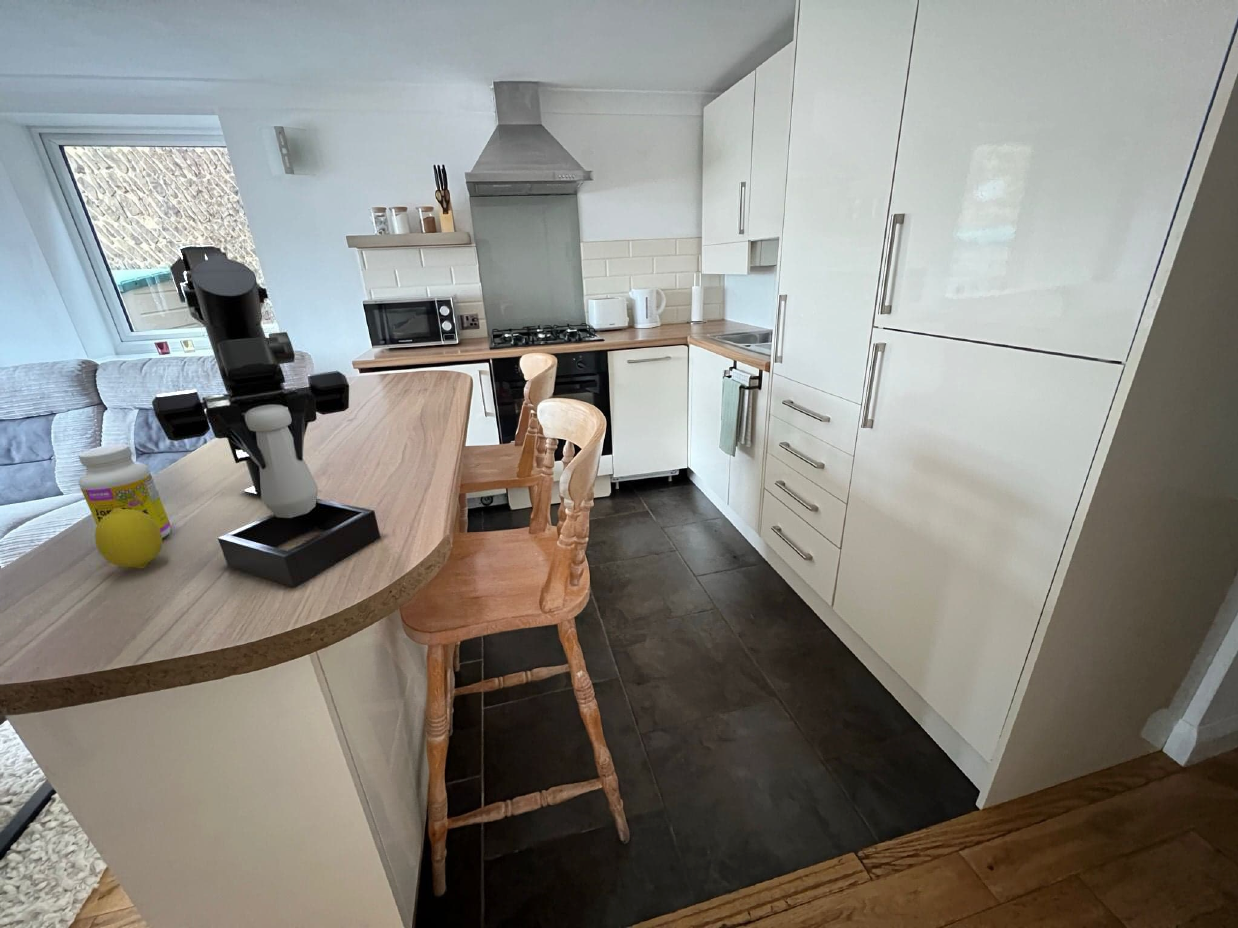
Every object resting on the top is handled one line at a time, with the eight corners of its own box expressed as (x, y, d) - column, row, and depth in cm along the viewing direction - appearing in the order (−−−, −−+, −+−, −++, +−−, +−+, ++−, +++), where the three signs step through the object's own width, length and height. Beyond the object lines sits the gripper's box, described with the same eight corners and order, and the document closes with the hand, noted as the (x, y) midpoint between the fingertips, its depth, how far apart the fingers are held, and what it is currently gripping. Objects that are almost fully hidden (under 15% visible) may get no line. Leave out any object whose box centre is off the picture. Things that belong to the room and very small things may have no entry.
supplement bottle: (99, 557, 64) (54, 463, 59) (118, 535, 70) (78, 447, 65) (165, 543, 67) (128, 452, 62) (179, 523, 72) (145, 438, 68)
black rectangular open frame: (227, 567, 61) (217, 537, 59) (318, 522, 71) (311, 497, 69) (294, 588, 56) (284, 557, 55) (380, 537, 66) (374, 510, 65)
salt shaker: (297, 523, 58) (264, 415, 54) (255, 520, 60) (219, 413, 55) (333, 501, 64) (306, 401, 59) (294, 498, 65) (264, 400, 60)
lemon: (136, 557, 64) (111, 500, 61) (182, 554, 64) (159, 497, 61) (98, 582, 58) (68, 521, 56) (148, 579, 59) (121, 517, 56)
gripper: (120, 317, 50) (156, 448, 47) (327, 304, 61) (371, 409, 57) (152, 383, 59) (185, 498, 55) (328, 361, 70) (367, 456, 66)
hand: (282, 463), depth 58 cm, fingers closed on salt shaker, 3 cm apart
